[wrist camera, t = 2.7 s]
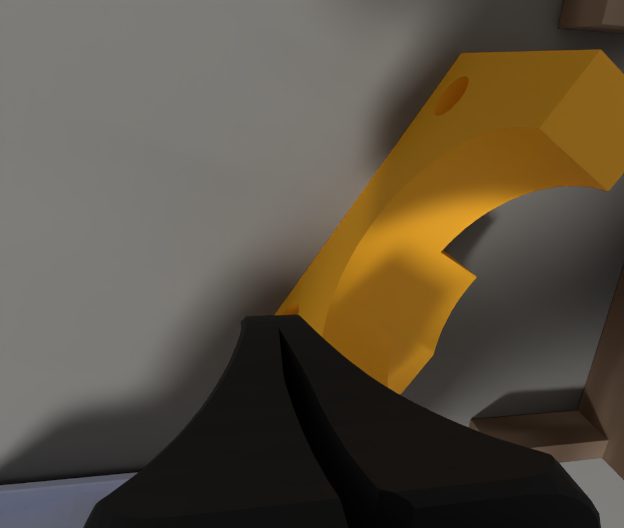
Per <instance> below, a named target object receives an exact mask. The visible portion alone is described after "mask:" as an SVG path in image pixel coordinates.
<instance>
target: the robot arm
mask: <svg viewBox="0 0 624 528" xmlns="http://www.w3.org/2000/svg"><path fill="white" fill-rule="evenodd" d="M0 528H601V525H600V516H599V513H598V511H597V510H596V508H595V506H594V505H593V503H592V501H591V500H590V499H589V498H588V496H587V495H586V494H585V493H584V492H583V490H582V489H581V488H580V487H579V486H578V485H577V483H576V482H575V481H574V480H573V479H572V478H571V476H570V475H569V474H568V473H567V472H566V471H565V469H564V468H563V467H562V466H561V465H560V464H559V462H558V461H557V460H556V459H555V458H554V457H553V456H552V455H551V454H548V453H545V452H541V451H538V450H535V449H531V448H528V447H525V446H521V445H518V444H515V443H511V442H508V441H505V440H501V439H498V438H495V437H492V436H489V435H487V434H484V433H482V432H479V431H476V430H474V429H471V428H468V427H466V426H463V425H461V424H458V423H456V422H454V421H451V420H449V419H447V418H444V417H442V416H440V415H438V414H436V413H434V412H432V411H430V410H428V409H426V408H424V407H422V406H420V405H417V404H415V403H414V402H412V401H410V400H408V399H406V398H404V397H403V396H401V395H399V394H398V393H396V392H394V391H393V390H391V389H389V388H388V387H386V386H385V385H383V384H381V383H380V382H378V381H377V380H375V379H374V378H372V377H371V376H369V375H368V374H367V373H365V372H364V371H363V370H361V369H360V368H359V367H357V366H356V365H355V364H353V363H352V362H351V361H349V360H348V359H347V358H346V357H344V356H343V355H342V354H341V353H340V352H338V351H337V350H336V349H335V348H334V347H333V346H332V345H330V344H329V343H328V342H327V341H326V340H325V339H324V338H323V337H322V336H321V335H319V334H318V333H317V332H316V331H315V330H314V329H313V328H312V327H311V326H310V325H309V324H308V323H307V322H306V321H305V320H304V319H303V318H302V317H301V316H300V315H271V316H246V317H245V318H244V319H243V320H242V321H241V333H240V337H239V340H238V343H237V345H236V348H235V350H234V352H233V355H232V357H231V359H230V362H229V364H228V366H227V367H226V369H225V371H224V373H223V375H222V376H221V378H220V380H219V382H218V384H217V385H216V387H215V388H214V390H213V391H212V393H211V395H210V396H209V397H208V399H207V400H206V402H205V403H204V404H203V406H202V407H201V408H200V410H199V411H198V412H197V414H196V415H195V416H194V417H193V418H192V420H191V421H190V422H189V423H188V424H187V426H186V427H185V428H184V429H183V430H182V431H181V432H180V434H179V435H178V436H177V437H176V438H175V439H174V440H173V441H172V442H171V443H170V444H169V445H168V446H167V447H166V448H165V449H164V450H162V451H161V452H160V453H159V454H158V455H157V456H156V457H155V458H154V459H153V460H152V461H151V462H150V463H149V464H148V465H147V466H145V467H144V468H143V469H142V470H141V471H140V472H136V473H126V474H115V475H104V476H94V477H83V478H73V479H62V480H52V481H41V482H30V483H20V484H9V485H0Z"/></svg>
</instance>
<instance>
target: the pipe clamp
mask: <svg viewBox="0 0 624 528" xmlns="http://www.w3.org/2000/svg"><path fill="white" fill-rule="evenodd" d="M623 173H624V74H623V73H622V72H621V70H620V69H619V68H618V67H617V66H616V65H615V64H614V63H613V62H612V61H611V60H610V59H609V57H608V56H607V55H606V54H605V53H604V52H603V51H602V50H601V49H597V50H557V51H518V52H478V53H461V54H460V56H459V57H458V58H457V60H456V61H455V63H454V64H453V65H452V67H451V68H450V70H449V71H448V72H447V74H446V75H445V77H444V78H443V79H442V81H441V82H440V84H439V85H438V86H437V88H436V89H435V91H434V92H433V93H432V95H431V96H430V98H429V99H428V100H427V102H426V103H425V105H424V106H423V107H422V109H421V110H420V112H419V113H418V114H417V116H416V117H415V119H414V120H413V121H412V123H411V124H410V126H409V127H408V128H407V130H406V131H405V133H404V134H403V136H402V137H401V138H400V140H399V141H398V143H397V144H396V145H395V147H394V148H393V150H392V151H391V152H390V154H389V155H388V157H387V158H386V159H385V161H384V162H383V164H382V165H381V166H380V168H379V169H378V171H377V172H376V173H375V175H374V176H373V178H372V179H371V180H370V182H369V183H368V185H367V186H366V187H365V189H364V190H363V192H362V193H361V194H360V196H359V197H358V199H357V200H356V201H355V203H354V204H353V206H352V207H351V208H350V210H349V211H348V213H347V214H346V215H345V217H344V218H343V220H342V221H341V222H340V224H339V225H338V227H337V228H336V229H335V231H334V232H333V234H332V235H331V236H330V238H329V239H328V241H327V242H326V243H325V245H324V246H323V248H322V249H321V250H320V252H319V253H318V255H317V256H316V257H315V259H314V260H313V262H312V263H311V264H310V266H309V267H308V269H307V270H306V271H305V273H304V274H303V276H302V277H301V278H300V280H299V281H298V283H297V284H296V285H295V287H294V288H293V290H292V291H291V292H290V294H289V295H288V297H287V298H286V299H285V301H284V302H283V304H282V305H281V306H280V308H279V309H278V311H277V312H276V313H275V315H300V316H301V317H302V318H303V319H304V320H305V321H306V322H307V323H308V324H309V325H310V326H311V327H312V328H313V329H314V330H315V331H316V332H317V333H318V334H319V335H321V336H322V337H323V338H324V339H325V340H326V341H327V342H328V343H329V344H330V345H332V346H333V347H334V348H335V349H336V350H337V351H338V352H340V353H341V354H342V355H343V356H344V357H346V358H347V359H348V360H349V361H351V362H352V363H353V364H355V365H356V366H357V367H359V368H360V369H361V370H363V371H364V372H365V373H367V374H368V375H369V376H371V377H372V378H374V379H375V380H377V381H378V382H380V383H381V384H383V385H385V386H386V387H388V388H389V389H391V390H393V391H394V392H396V393H398V394H399V395H401V394H402V392H403V391H404V390H405V389H406V388H407V386H408V385H409V384H410V383H411V381H412V380H413V379H414V378H415V377H416V375H417V374H418V373H419V372H420V371H421V369H422V368H423V367H424V366H425V364H426V363H427V362H428V361H429V360H430V358H431V357H432V356H433V354H434V351H435V348H436V345H437V342H438V339H439V336H440V334H441V332H442V329H443V327H444V325H445V323H446V321H447V319H448V317H449V315H450V313H451V311H452V310H453V308H454V307H455V305H456V303H457V302H458V300H459V299H460V298H461V296H462V295H463V293H464V292H465V291H466V289H467V288H468V287H469V286H470V285H471V283H472V282H473V281H474V280H475V279H476V278H477V277H476V276H475V275H474V274H473V273H471V272H470V271H469V270H468V269H466V268H465V267H464V266H463V265H462V264H460V263H459V262H458V261H457V260H455V259H454V258H453V257H452V256H451V255H449V254H448V253H447V252H445V251H444V250H443V249H444V248H445V247H446V246H447V245H448V244H449V243H450V242H451V241H452V240H453V239H454V238H455V237H456V236H457V235H458V234H459V233H461V232H462V231H463V230H464V229H465V228H466V227H468V226H469V225H470V224H472V223H473V222H474V221H475V220H477V219H478V218H480V217H481V216H483V215H484V214H486V213H487V212H489V211H491V210H492V209H494V208H496V207H498V206H499V205H501V204H503V203H505V202H507V201H510V200H512V199H514V198H517V197H519V196H522V195H524V194H527V193H531V192H534V191H537V190H542V189H547V188H552V187H561V186H583V187H592V188H597V189H601V190H605V191H609V190H610V189H611V188H612V186H613V185H614V184H615V183H616V182H617V180H618V179H619V178H620V177H621V176H622V174H623Z"/></svg>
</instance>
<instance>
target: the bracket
mask: <svg viewBox="0 0 624 528" xmlns="http://www.w3.org/2000/svg"><path fill="white" fill-rule="evenodd" d="M558 28H563V29H575V30H586V31H598V32H609V33H621V34H624V0H564V3H563V8H562V12H561V17H560V21H559V26H558ZM469 428H471V429H474V430H476V431H479V432H482V433H484V434H487V435H489V436H492V437H495V438H498V439H501V440H505V441H508V442H511V443H515V444H518V445H521V446H525V447H528V448H531V449H535V450H538V451H541V452H545V453H548V454H551V455H552V456H553V457H554V458H555V459H556V460H557V461H558V462H559V463H560V462H569V461H579V460H588V459H597V458H603V459H604V460H605V461H606V462H607V463H608V464H609V465H610V466H611V467H612V468H613V469H614V470H615V472H616V473H617V474H618V475H619V476H620V477H621V478H622V479H623V480H624V267H623V270H622V273H621V276H620V279H619V283H618V286H617V289H616V292H615V295H614V298H613V301H612V304H611V307H610V311H609V314H608V317H607V320H606V323H605V326H604V329H603V332H602V336H601V339H600V342H599V345H598V348H597V351H596V354H595V357H594V361H593V364H592V367H591V370H590V373H589V376H588V379H587V382H586V386H585V389H584V392H583V395H582V398H581V401H580V404H579V407H578V410H577V411H565V412H553V413H542V414H530V415H518V416H506V417H495V418H483V419H471V422H470V426H469Z"/></svg>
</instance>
